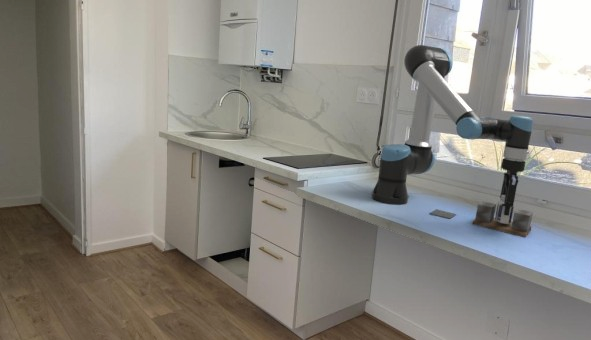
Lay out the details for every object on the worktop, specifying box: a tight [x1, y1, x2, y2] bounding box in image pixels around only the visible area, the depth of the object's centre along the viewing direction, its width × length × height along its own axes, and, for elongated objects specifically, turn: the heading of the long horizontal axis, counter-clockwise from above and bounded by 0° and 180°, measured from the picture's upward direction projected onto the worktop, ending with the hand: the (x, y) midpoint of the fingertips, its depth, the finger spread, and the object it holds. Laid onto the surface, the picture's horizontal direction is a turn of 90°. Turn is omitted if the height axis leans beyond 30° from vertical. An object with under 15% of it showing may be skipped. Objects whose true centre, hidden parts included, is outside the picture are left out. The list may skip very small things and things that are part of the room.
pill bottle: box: [494, 194, 515, 223], centre depth 160 cm, size 5×5×10 cm
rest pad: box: [429, 208, 457, 220], centre depth 171 cm, size 8×8×1 cm
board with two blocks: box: [472, 200, 534, 238], centre depth 161 cm, size 18×12×7 cm, turn 54°
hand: (502, 220), depth 161 cm, fingers closed on pill bottle, 5 cm apart
